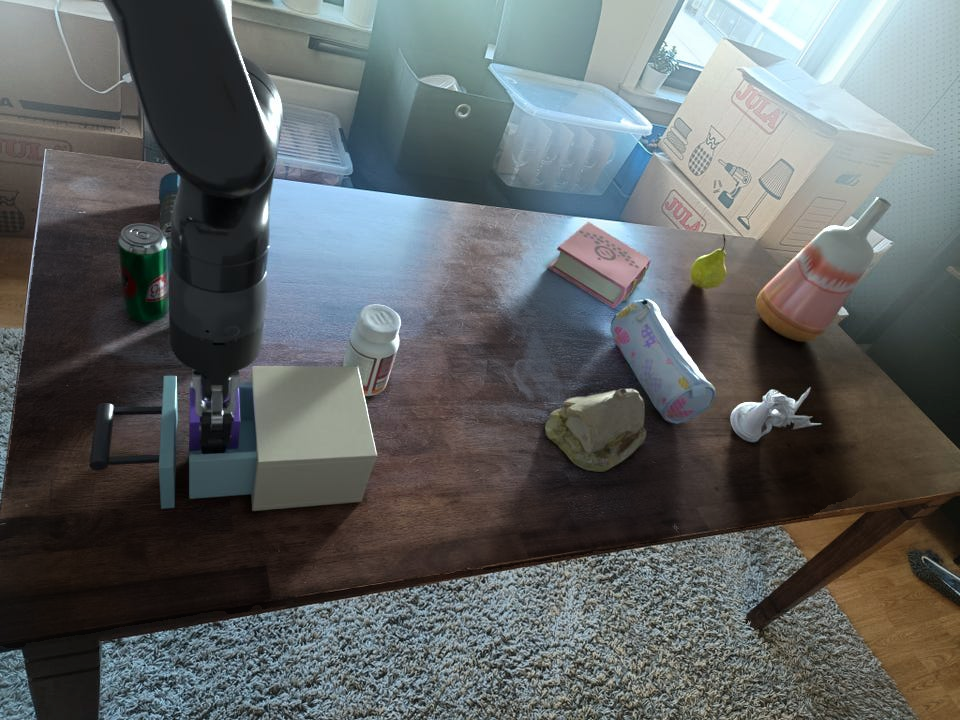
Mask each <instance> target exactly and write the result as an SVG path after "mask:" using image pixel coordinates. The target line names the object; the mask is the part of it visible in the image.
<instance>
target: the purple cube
mask: <svg viewBox="0 0 960 720" xmlns="http://www.w3.org/2000/svg"><path fill="white" fill-rule="evenodd" d="M201 399H202V400H203V401H204V402H209V401H206V400H205V399H204V398H203V387H202V397H201ZM228 399H229V396H228V398H227V399H226V400H225V401H223V402H226V401H227V400H228ZM232 416H234V421H232V429H231V441H230V444H229V445H226V449H238V442H239V431H240V405H239V388H238V389H237V390H236V404H235V413H234V414H233V415H232ZM188 418H189V419H188V421H189V423H188V427H189V428H188V431H189V433H188V435H189V436H188V437H189V439H188V444H189V445H188V447H189V448H188V449H189V450H188V451H189V452H190V451H202V446H201V442H200V443H199V437H201V431H199V426H201V422H200V416H197V415H196V413H195V390H194V389H193V387H190V386H189V417H188Z"/></svg>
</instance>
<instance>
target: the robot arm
mask: <svg viewBox="0 0 960 720" xmlns="http://www.w3.org/2000/svg"><path fill="white" fill-rule="evenodd" d="M101 1H102V3H103V5H104V7H105V8H106V10H107V11H108V13H109V15H110V18H111V19H112V22H113V25H114V26H115V29H116V33H117V35H118V39H119V42H120V46H121V50H122V54H123V57H124V61H125V63H126V66H127V69H128V73H129V76H130V79H131V81H132V85H133V87H134V91H135V93H136V97H137V100H138V102H139V106H140V108H141V111H142V114H143V116H144V119H145V121H146V124H147V127H148V129H149V131H150V134H151V136H152V138H153V140H154V142H155V144H156V146H157V148H158V150H159V151H160V153H161V154H162V156H163V158H164V159H165V161H166V162H167V163H168V165H169V166H170V167H171V169H173V172H176V173H177V174H178V175H179V176H180V183H179V189H178V193H177V196H176V199H175V202H174V206H173V211H172V218H171V271H170V276H169V284H168V288H169V311H168V319H169V344H170V350H171V351H172V354H173V355H174V357H175V358H176V359H177V360H178V361H179V362H180V363H181V364H183V365H184V366H185V367H187V368H189V369H191V370H192V382H193V383H192V386H193V389H194V390H195V413H196V415H197V416H200V422H201V426H199V431H201V437H199V443H200V442H201V446H202V454H218V453H225V451H226V445H229V444H230V441H231V429H232V421H234V416H232V415H233V414H234V413H235V404H236V390H237V389H238V388H239V382H240V376H241V375H240V374H241V373H240V371H241V370H243V369H245V368H247V367H249V365H251V364H252V363H254V361H255V360H256V359H257V358H258V356H259V355H260V353H261V350H262V345H263V335H264V334H263V333H264V327H265V326H264V325H265V317H266V307H267V299H268V298H267V297H268V281H267V268H268V267H267V265H268V259H269V258H268V257H269V248H270V231H271V230H270V229H271V228H270V206H271V205H270V203H271V196H272V190H273V185H274V179H275V173H276V166H277V160H278V153H279V147H280V140H281V134H282V129H283V128H282V127H283V121H284V111H283V104H282V100H281V96H280V93H279V91H278V88H277V87H276V85H275V83H274V81H273V80H272V78H271V77H270V76H269V74H268V73H267V72H266V71H265V70H264V69H263V68H262V67H261V66H260V65H259V64H258V63H256V62H254V60H252V59H250V58H249V57H247V56H244V55H242V53H241V50H240V48H239V45H238V42H237V39H236V36H235V32H234V25H233V0H101ZM202 387H203V398H204V399H205V400H206V401H209V402H204V401H203V400H202V399H201V397H202ZM228 396H229V399H228V400H227V401H226V402H223V401H225V400H226V399H227V398H228Z"/></svg>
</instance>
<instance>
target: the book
mask: <svg viewBox="0 0 960 720" xmlns="http://www.w3.org/2000/svg"><path fill="white" fill-rule="evenodd" d="M556 250H557V251H559V254H558V257H557V258H556V259H555V260H554V261H552V262H551V263H550V264H549V265H548V267H547V268H548V269H549V270H551V271H552V272H554V273H555V274H557V275H559V276H560V277H562V278H563V279H565V280H567V281H568V282H570V283H571V284H573V285H574V286H576V287H578V288H580V289H581V290H583V291H585V292H586V293H588V294H590V295H591V296H592V297H594V298H596V299H597V300H599V301H600V302H602V303H603V304H605V305H607V306H608V307H610V308H612V309H613V310H614V309H616V308H617V307H618V306H619V304H621V303H622V302H624V301H625V300H626V299H628V298H629V297H630V296H631V294H632V292H633V291H634V289H635V288H636V287H637V286H638V285H640V283H641V282H642V281H643V279H644V277H645V276H646V273H647V271H648V269H649V267H650V264H651V260H652V259H651V258H650V257H648V256H646V255H645V254H643V253H642V252H641V251H639V250H636V249H635V248H633V247H631V246H630V245H628V244H626V243H625V242H623V241H622V240H620V239H618V238H617V237H615V236H613V235H611V234H610V233H608V232H606V231H605V230H603V229H602V228H599V227H598V226H597V225H595V224H593V223H592V222H590V221H587V222H586V223H584V225H582V226H581V227H579V229H577V230H576V231H575V232H573V234H571V235H570V236H569V237H568V238H567V239H565V240H564V241H563V242H562V243H560V244H559V245H558V247H557V248H556Z"/></svg>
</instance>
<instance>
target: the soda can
mask: <svg viewBox="0 0 960 720" xmlns="http://www.w3.org/2000/svg"><path fill="white" fill-rule="evenodd" d="M117 247H118V256H119V257H118V258H119V268H120V269H119V270H120V279H121V290H122V291H121V292H122V302H123V311H124V313H125V314H126V316H128V317H129V318H131V319H132V320H134V321H136V322H140V323H154V322H158V321H160V320H161V319H163V318H164V317H166V316H167V314H169V284H168V251H167V240H166V238H165V237H164V235H163V232H162V231H161V230H160V227H157V226H155V225H153V224H148V223H143V222H142V223H141V222H139V223H131V224H129V225H126V226H125V227H123V228H122V229H121V232H120V235H119V237H118V238H117Z"/></svg>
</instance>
